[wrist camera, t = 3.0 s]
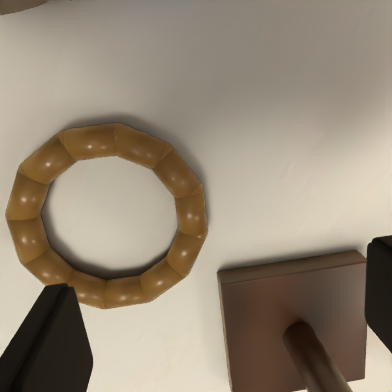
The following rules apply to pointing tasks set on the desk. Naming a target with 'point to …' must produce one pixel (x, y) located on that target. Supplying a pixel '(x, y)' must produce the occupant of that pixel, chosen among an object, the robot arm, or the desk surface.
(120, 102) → the desk surface
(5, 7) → the figurine character
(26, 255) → the ring
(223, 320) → the peg stand
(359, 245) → the desk surface
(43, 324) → the robot arm
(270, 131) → the desk surface
